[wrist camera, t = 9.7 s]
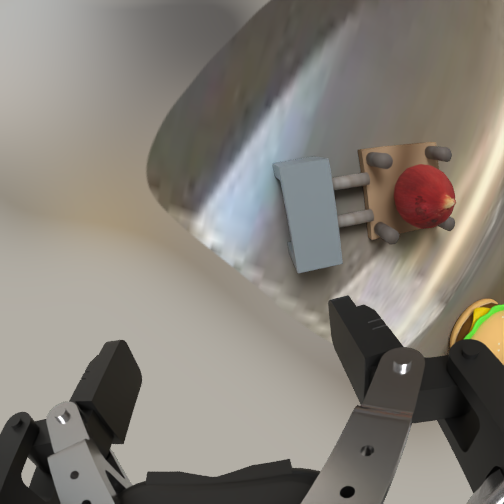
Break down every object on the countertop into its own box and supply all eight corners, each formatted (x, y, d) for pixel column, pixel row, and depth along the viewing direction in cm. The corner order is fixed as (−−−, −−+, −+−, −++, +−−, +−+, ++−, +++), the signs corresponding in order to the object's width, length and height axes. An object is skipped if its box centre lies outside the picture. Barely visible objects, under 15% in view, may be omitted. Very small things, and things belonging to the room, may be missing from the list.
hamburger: (508, 292, 34) (543, 318, 26) (478, 356, 38) (505, 387, 30) (462, 286, 33) (501, 318, 25) (429, 360, 37) (457, 398, 29)
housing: (314, 156, 28) (328, 158, 23) (327, 245, 31) (342, 263, 26) (272, 163, 28) (278, 167, 23) (289, 253, 31) (297, 273, 26)
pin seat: (430, 142, 27) (452, 143, 23) (436, 222, 30) (456, 231, 26) (319, 155, 28) (330, 157, 24) (332, 244, 31) (344, 258, 27)
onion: (414, 226, 29) (458, 250, 22) (372, 205, 28) (412, 226, 21) (434, 176, 27) (483, 188, 20) (393, 151, 27) (439, 156, 19)
